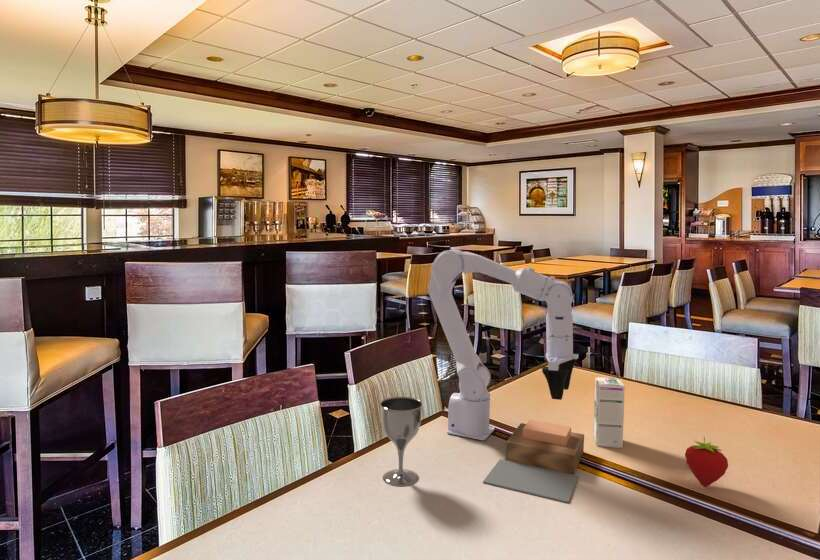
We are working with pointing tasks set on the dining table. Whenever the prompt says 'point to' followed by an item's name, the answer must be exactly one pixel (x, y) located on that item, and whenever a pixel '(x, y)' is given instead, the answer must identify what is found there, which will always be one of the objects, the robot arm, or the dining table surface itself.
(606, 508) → the dining table surface
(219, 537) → the dining table surface
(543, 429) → the peach rectangular box
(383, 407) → the wine glass
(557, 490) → the mat
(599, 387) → the syrup box
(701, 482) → the strawberry
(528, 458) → the brown box
